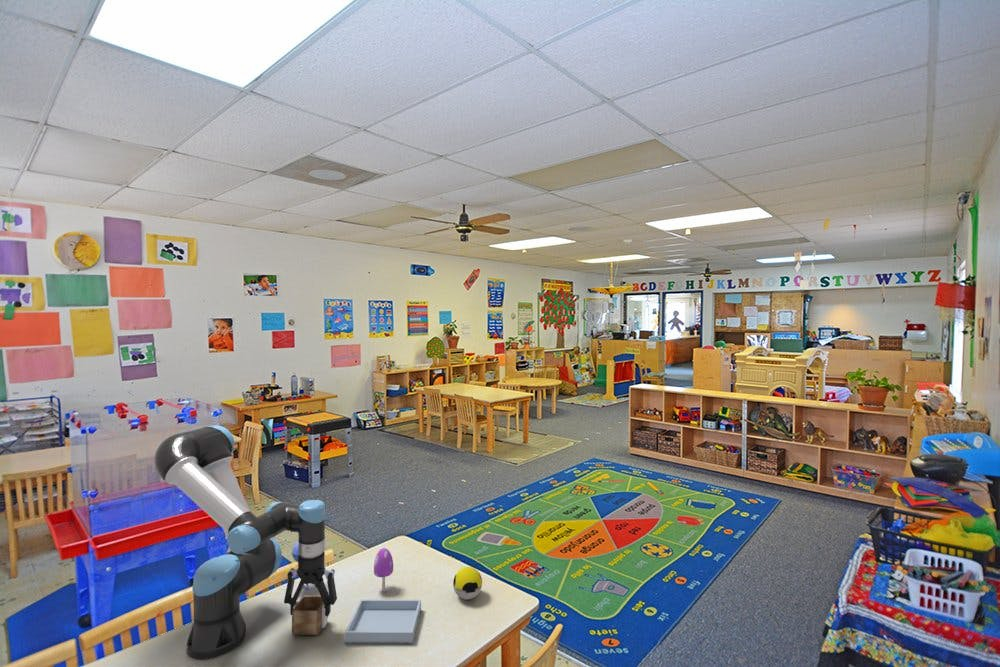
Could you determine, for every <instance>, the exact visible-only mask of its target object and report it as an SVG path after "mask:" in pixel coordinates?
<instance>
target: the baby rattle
mask: <svg viewBox="0 0 1000 667" xmlns="http://www.w3.org/2000/svg"><path fill="white" fill-rule="evenodd" d="M298 545H299V540H298V541H296V542H295V544H294V545H293V547H292V550H291V555H292V558H293V559H294V561H295V562H297V563H298V556H299V553H298ZM309 587H310V586H309V584H304V586H303V588H304V589H305V590H308V589H309Z"/></svg>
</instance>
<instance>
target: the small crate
mask: <svg viewBox="0 0 1000 667" xmlns="http://www.w3.org/2000/svg"><path fill="white" fill-rule="evenodd" d="M298 601H299V602H298V603H297V605H296V606H295V608H294V609H293V611H292V615H291V635H304V636H305V635H307V636H308V635H309V636H310V635H313V636H318V635H320V633H321V631H322V629H323V628H322V607H323V605H324V603H323V601H322V598H321V596H320V595H309V594H307V595H304V594H303V595H302V597H300V599H299V600H298ZM328 618H329V616H327V619H328Z"/></svg>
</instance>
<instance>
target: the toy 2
mask: <svg viewBox="0 0 1000 667" xmlns="http://www.w3.org/2000/svg"><path fill="white" fill-rule="evenodd" d="M452 582H453V584H452V585H453V586H452V587H453V590H454V593H455V595H457V596H458V597H459V598H460V599H462V600H466V601H468V600H473V599H474V598H476V597H477V596H478V595H480V594H479V593H480V592H481V590H482V588H483V579H482V575H481V574H480V572H479V571H478V570H477V569H476V568H475V567H472V566H465V567H462V568H460V569H459V570H458V571H457V572H456V573H455V575H454V577H453V581H452Z"/></svg>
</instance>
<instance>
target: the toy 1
mask: <svg viewBox="0 0 1000 667" xmlns="http://www.w3.org/2000/svg"><path fill="white" fill-rule="evenodd" d="M393 559H394V558H393V556H392V553H391V552H390V549H388V548H386V547H382V548H381V549H380V550H379V551H377V554H376V556H375V559H374V563H373V573H374V576H375V577H377V578H382V584H381V585H382V586H381V591H382V592H385V591H386V577H390V576H391V575H393V572H394V560H393Z"/></svg>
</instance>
